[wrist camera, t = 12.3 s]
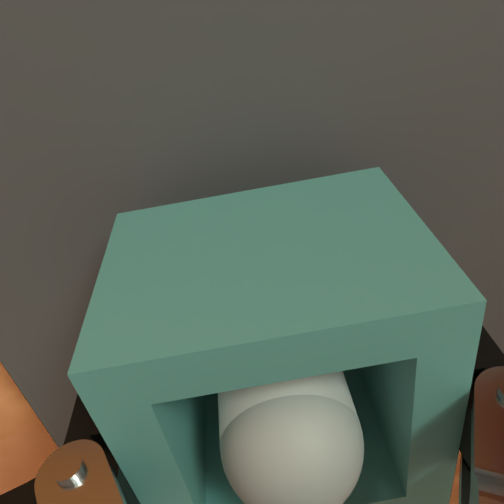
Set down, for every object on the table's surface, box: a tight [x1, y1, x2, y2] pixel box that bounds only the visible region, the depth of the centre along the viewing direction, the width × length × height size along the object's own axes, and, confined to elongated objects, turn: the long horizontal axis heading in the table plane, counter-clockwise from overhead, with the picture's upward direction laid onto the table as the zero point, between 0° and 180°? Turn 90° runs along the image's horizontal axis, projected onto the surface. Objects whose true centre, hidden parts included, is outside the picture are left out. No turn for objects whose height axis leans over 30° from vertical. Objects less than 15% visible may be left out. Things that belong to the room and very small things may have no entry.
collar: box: [67, 167, 487, 504], centre depth 11 cm, size 6×6×5 cm
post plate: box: [0, 0, 504, 504], centre depth 12 cm, size 18×18×9 cm
